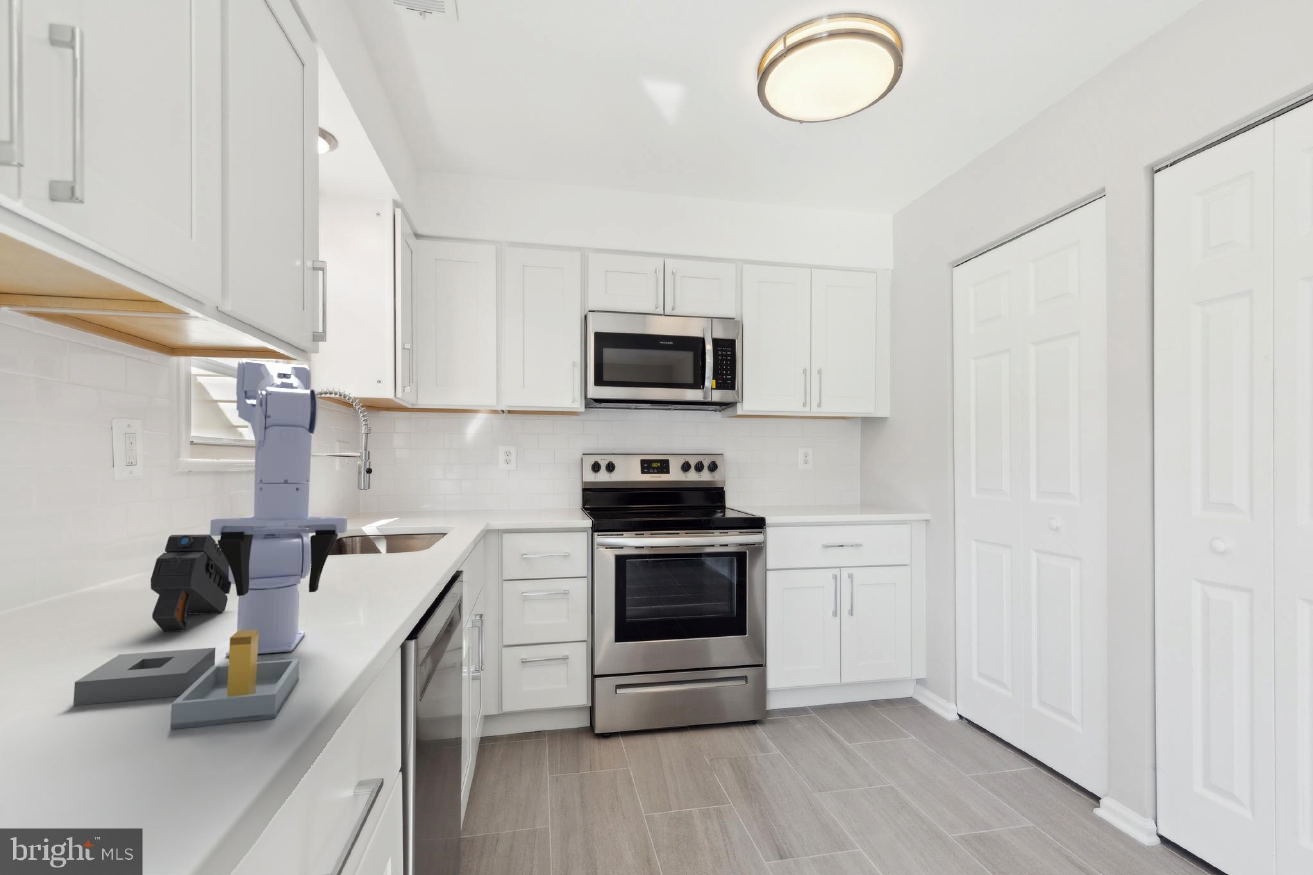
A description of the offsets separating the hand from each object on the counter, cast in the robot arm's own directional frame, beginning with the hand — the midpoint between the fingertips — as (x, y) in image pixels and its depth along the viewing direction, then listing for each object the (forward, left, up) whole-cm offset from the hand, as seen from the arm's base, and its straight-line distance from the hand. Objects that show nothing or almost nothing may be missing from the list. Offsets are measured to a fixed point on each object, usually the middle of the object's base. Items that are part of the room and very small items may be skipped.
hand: (278, 592), depth 76 cm
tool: (-34, -19, -11) cm, 41 cm away
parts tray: (+8, -2, -10) cm, 13 cm away
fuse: (+8, -2, -10) cm, 13 cm away
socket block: (-1, -13, -10) cm, 17 cm away
